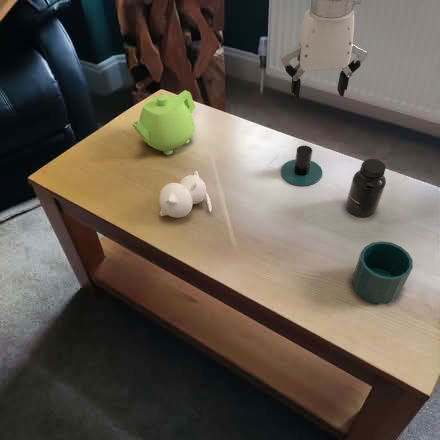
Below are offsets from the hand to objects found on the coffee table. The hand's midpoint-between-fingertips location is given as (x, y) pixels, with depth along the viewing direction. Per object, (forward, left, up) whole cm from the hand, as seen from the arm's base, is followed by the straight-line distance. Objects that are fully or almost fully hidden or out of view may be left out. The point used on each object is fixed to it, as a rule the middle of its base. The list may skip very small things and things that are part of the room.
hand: (318, 94), depth 93 cm
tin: (-3, +39, -19) cm, 43 cm away
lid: (+2, +3, -18) cm, 18 cm away
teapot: (+33, -18, -19) cm, 42 cm away
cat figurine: (+31, +10, -19) cm, 38 cm away
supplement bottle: (-7, +18, -19) cm, 27 cm away
